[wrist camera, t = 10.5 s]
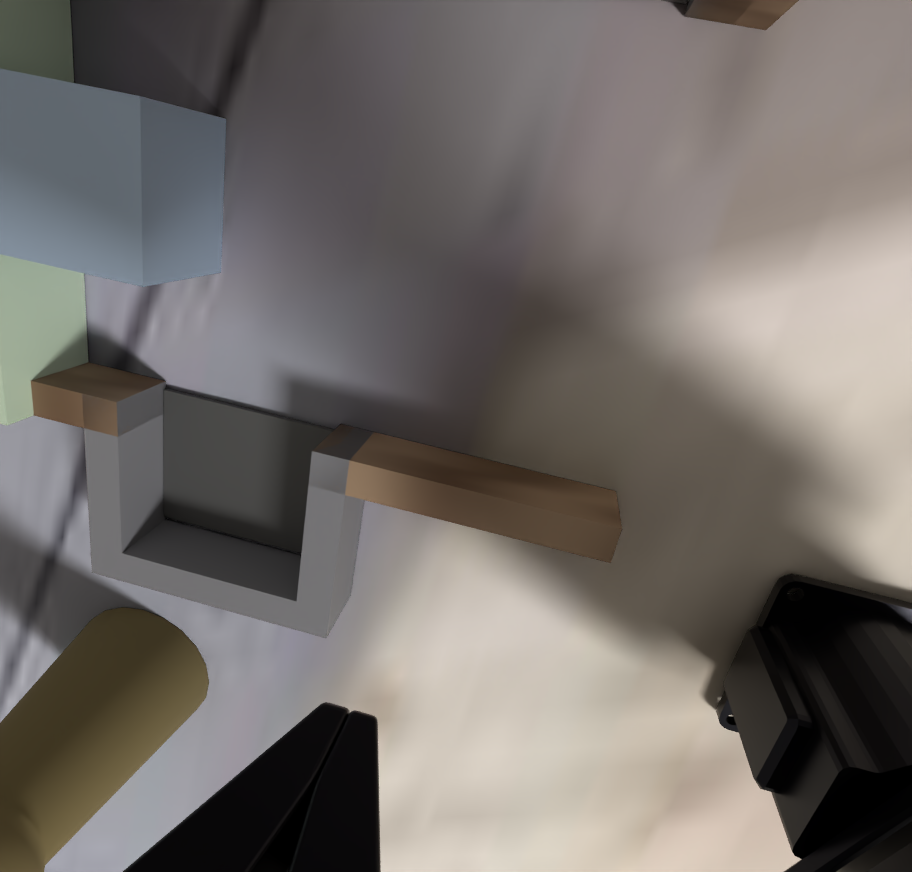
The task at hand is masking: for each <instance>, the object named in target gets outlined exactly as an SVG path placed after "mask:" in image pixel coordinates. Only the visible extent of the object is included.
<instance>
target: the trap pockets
mask: <svg viewBox="0 0 912 872" xmlns="http://www.w3.org/2000/svg"><path fill="white" fill-rule="evenodd" d="M663 1H669V2H676V3H682V4H686V3H687V0H663ZM693 1H694V0H693ZM693 1H692V0H689V2H688V5H687V9H686V12H685V16H687V14H686V13H687V10H689V11H691V10H692V9H694V8H698V7H699V8H700V6H701V5H700V6H698V5H697V4H696V3H694V2H693ZM695 1H696V0H695ZM699 1H701V0H699ZM703 1H704V0H703ZM711 1H712V0H711ZM711 1H710V2H711ZM696 2H698V1H696ZM717 2H718V1H717ZM691 3H694V4H695V5H696V6H697V7H693V6H694V5H693V4H691ZM699 3H700V2H699ZM699 3H698V4H699ZM705 3H706V1H705V2H704V4H705ZM707 3H709V2H708V1H707ZM707 3H706V4H707ZM714 3H715V2H714ZM690 4H691V5H692V8H691V7H690V6H691V5H690ZM700 4H701V3H700ZM702 4H703V3H702ZM709 5H712V3H709ZM714 5H716V4H714ZM722 5H723V4H722ZM688 6H689V7H688ZM706 6H708V5H706ZM704 7H705V6H704ZM711 7H712V6H711ZM689 8H690V9H689ZM702 8H703V7H702ZM723 9H724V8H723ZM694 10H695V9H694ZM696 10H697V11H698V9H696ZM699 10H700V9H699ZM704 10H705V11H706V9H704ZM700 11H701V10H700ZM702 11H703V10H702ZM693 12H694V13H695V11H693ZM698 12H699V11H698ZM708 13H709V12H708ZM708 13H707V14H708ZM688 14H689V13H688ZM691 14H693V13H692V12H691ZM691 14H690V15H691ZM698 14H699V13H698ZM698 14H697V13H696V15H695V14H693V16H694V15H695V16H694V17H696V16H697V15H698ZM709 14H710V13H709ZM690 15H688V17H690ZM699 15H700V14H699ZM693 16H691V18H692V17H693ZM712 17H713V16H712ZM698 19H699V18H698ZM700 19H701V16H700ZM151 389H152V390H151ZM151 389H150V388H149V389H146V390H144V391H142V392H141V393H140V392H139V393H137V394H135V395H132V396H130V397H128V398H125V399H123V400H121V401H118V402H117V403H118V404H116V407H117V412H116V413H117V415H115V416H117V420H116V419H114V420H116V421H117V422H116V423H117V426H116V427H117V428H118V435H117V436H118V437H116V436H113V435H109V434H105V433H101V432H97V431H98V430H97V431H93V430H94V429H92V430H90V429H85V428H84V439H85V457H86V474H87V492H88V510H89V527H90V545H91V563H92V573H95V574H99V575H102V576H106V577H109V578H113V579H116V580H120V581H123V582H127V583H131V584H134V585H138V586H141V587H145V588H148V589H152V590H156V591H159V592H163V593H166V594H170V595H173V596H177V597H181V598H184V599H188V600H191V601H195V602H198V603H202V604H206V605H209V606H213V607H216V608H220V609H223V610H227V611H231V612H234V613H238V614H241V615H245V616H248V617H252V618H255V619H259V620H263V621H266V622H270V623H273V624H277V625H280V626H284V627H288V628H291V629H295V630H298V631H302V632H305V633H309V634H313V635H316V636H320V637H323V638H327V636H328V635H329V633H330V631H331V629H332V628H333V626H334V624H335V622H336V620H337V619H338V617H339V615H340V613H341V612H342V610H343V608H344V606H345V605H346V603H347V601H348V599H349V597H350V596H351V589H352V582H353V575H354V569H355V562H356V555H357V548H358V541H359V534H360V527H361V520H362V513H363V506H364V500H363V499H359V498H355V497H351V496H347V495H345V491H346V488H345V487H346V484H347V481H346V478H347V476H348V471H347V470H348V466H349V463H348V462H349V461H350V459H351V458H352V457H353V456H354V455H355V454H356V452H357V451H358V450H359V449H360V448H361V447H362V446H363V444H364V443H365V442H366V441H367V440H368V439H369V438H370V435H372V434H373V433H374V432H371V431H370V432H369V431H367V430H363V429H359V428H354V429H356V430H353V429H351V434H350V431H349V430H348V429H346V431H347V432H346V431H344V432H345V433H343V434H347V433H348V436H346V437H347V438H346V437H345V436H344V435H343V434H341V436H340V437H339V436H338V437H339V439H341V437H342V439H343V440H344V441H343V442H340V441H339V442H340V444H337V445H336V446H334V445H335V444H336V443H337V442H336V443H335V442H334V441H335V440H334V441H333V440H332V441H333V442H334V443H335V444H334V443H333V442H332V441H331V442H332V443H333V445H332V444H331V443H330V444H331V445H332V446H334V447H331V446H329V444H328V445H326V446H329V447H327V449H329V450H332V449H333V450H332V451H330V452H329V450H327V449H325V448H324V447H323V449H325V450H324V451H323V449H320V448H319V449H320V450H319V449H318V450H319V451H320V452H321V453H320V452H318V450H317V451H316V450H315V451H316V452H315V451H313V450H314V449H315V448H316V447H317V446H318V445H319V444H320V443H321V442H325V441H326V440H324V439H325V438H326V437H328V436H329V435H330V434H331V433H332V432H333V431H334V430H335V429H331V428H327V427H323V426H319V425H315V424H311V423H307V422H303V421H299V420H295V419H291V418H286V417H282V416H278V415H274V414H270V413H266V412H262V411H258V410H254V409H250V408H246V407H242V406H238V405H234V404H230V403H225V402H221V401H217V400H213V399H209V398H205V397H201V396H197V395H193V394H189V393H185V392H181V391H177V390H173V389H168V388H166V381H165V382H163V383H161V384H158V385H156V386H154V387H151ZM162 389H163V391H162ZM147 390H148V391H147ZM146 391H147V392H148V393H147V392H146ZM163 392H164V393H163ZM143 393H144V394H143ZM148 394H149V395H148ZM140 395H141V396H140ZM84 396H85V395H84ZM88 396H89V395H88ZM89 397H90V396H89ZM139 397H140V398H139ZM150 397H151V398H150ZM96 398H98V397H96ZM86 399H87V397H86ZM133 399H134V400H133ZM88 400H90V398H89V399H88ZM94 400H95V399H94ZM94 400H90V401H92V402H93V401H94ZM100 400H101V399H100ZM100 400H98V401H100ZM144 400H145V401H144ZM149 400H150V401H149ZM83 401H85V400H83ZM103 401H104V400H103ZM141 401H142V402H141ZM148 401H149V402H148ZM92 402H91V403H92ZM105 402H106V401H105ZM109 402H110V401H109ZM161 402H162V403H161ZM82 403H83V402H82ZM86 403H87V400H86ZM97 403H102V401H101V402H97ZM113 403H114V401H113ZM115 403H116V402H115ZM122 403H123V404H122ZM158 403H159V404H158ZM87 404H88V403H87ZM102 405H103V404H102ZM106 405H107V404H105V406H106ZM133 405H134V406H133ZM88 406H89V407H90V405H87V407H88ZM91 406H92V405H91ZM96 406H98V405H96ZM105 406H104V407H105ZM92 407H93V406H92ZM104 407H103V408H104ZM107 407H109V406H107ZM113 407H114V406H113ZM120 407H121V408H120ZM142 407H143V408H142ZM98 408H101V407H100V406H98ZM103 408H102V409H103ZM145 408H146V409H145ZM87 409H88V408H87ZM102 409H101V410H102ZM115 409H116V408H115ZM131 409H132V410H131ZM111 410H112V409H111ZM126 410H127V411H126ZM147 410H148V411H147ZM152 410H153V411H152ZM87 411H88V410H87ZM87 411H86V412H87ZM96 411H97V412H98V411H99V410H96ZM104 411H105V410H104ZM106 411H108V410H106ZM146 411H147V412H146ZM149 411H150V412H149ZM83 412H84V411H83ZM89 412H90V411H89ZM114 412H115V411H114ZM127 412H128V413H127ZM87 413H88V412H87ZM87 413H86V414H87ZM94 413H95V412H94ZM94 413H93V414H94ZM102 413H103V412H102ZM118 413H119V414H118ZM145 413H146V414H145ZM162 413H163V414H162ZM98 414H99V415H100V413H98ZM144 414H145V415H144ZM83 415H84V414H83ZM89 415H90V413H89ZM89 415H88V416H89ZM112 415H114V413H113V414H112ZM129 415H130V416H129ZM85 416H87V415H85ZM88 416H87V417H88ZM107 416H108V415H107ZM127 416H128V417H127ZM145 416H146V417H145ZM149 416H150V417H149ZM155 416H156V417H155ZM90 417H91V416H90ZM95 417H96V416H95ZM104 417H105V415H104ZM84 418H85V417H84ZM97 418H98V417H96V419H97ZM127 418H128V419H127ZM129 418H130V419H129ZM112 419H113V418H112ZM147 419H148V420H147ZM85 420H86V419H85ZM90 420H92V419H90ZM99 420H100V419H99ZM124 420H125V421H124ZM136 420H137V421H138V422H137V421H136ZM87 421H89V419H88V420H87ZM111 421H112V420H111ZM111 421H110V422H111ZM131 421H132V423H131ZM113 422H114V421H113ZM121 422H122V423H121ZM86 423H87V422H86ZM136 423H137V424H136ZM138 423H139V424H138ZM104 424H106V425H107V423H105V422H104ZM104 424H103V425H104ZM108 424H109V423H108ZM129 424H130V425H129ZM84 425H85V424H84ZM91 425H92V424H91ZM93 425H94V423H93ZM101 425H102V424H101ZM119 425H120V426H119ZM86 426H88V425H86ZM341 426H342V424H341ZM345 426H346V425H344V427H345ZM96 427H97V425H96ZM96 427H95V428H96ZM100 427H103V426H100ZM342 427H343V426H342ZM344 427H343V428H344ZM346 427H347V426H346ZM92 428H93V427H92ZM114 428H115V427H114ZM121 428H122V429H121ZM129 428H130V429H129ZM347 428H349V429H350V428H352V427H347ZM336 429H337V428H336ZM104 430H105V429H103V431H104ZM106 430H107V429H106ZM111 430H112V429H111ZM341 430H342V429H341ZM343 430H344V429H343ZM358 430H359V431H360V432H359V431H358ZM362 430H363V431H362ZM123 431H127V432H123ZM336 431H338V429H337V430H336ZM339 431H340V430H339ZM348 431H349V432H348ZM355 431H357V432H355ZM361 431H362V432H361ZM364 431H365V432H366V433H365V432H364ZM110 432H111V431H110ZM367 432H368V434H367ZM111 433H114V432H111ZM116 433H117V432H115V434H116ZM122 433H123V434H122ZM335 433H336V432H335ZM335 433H333V434H335ZM338 433H339V432H338ZM356 433H357V434H356ZM359 433H360V434H359ZM363 433H364V434H365V435H364V434H363ZM121 434H122V435H121ZM349 434H350V435H349ZM354 434H356V435H354ZM336 435H337V434H336ZM339 435H340V434H339ZM342 435H343V436H344V438H343V436H342ZM351 435H352V436H351ZM330 436H331V435H330ZM330 436H329V437H330ZM349 436H351V438H350V437H349ZM353 436H354V438H353ZM356 436H358V438H359V439H358V438H357V437H356ZM364 436H365V437H364ZM329 437H328V438H329ZM332 437H334V436H332ZM332 437H331V439H332ZM363 437H364V438H363ZM328 438H327V439H328ZM348 438H349V439H350V440H351V439H353V440H351V441H352V442H351V441H350V440H349V439H348ZM331 439H330V440H331ZM333 439H335V438H333ZM342 439H341V440H342ZM355 439H356V440H355ZM357 439H358V440H357ZM323 440H324V441H323ZM348 440H349V441H348ZM365 440H366V441H365ZM336 441H337V439H336ZM354 441H355V442H354ZM361 441H364V442H361ZM326 442H327V441H326ZM326 442H325V443H326ZM328 442H329V439H328ZM328 442H327V443H328ZM345 442H346V443H345ZM348 442H349V443H348ZM350 442H351V443H350ZM356 442H357V443H356ZM327 443H326V444H327ZM341 443H343V444H341ZM344 443H345V444H344ZM359 443H360V444H359ZM322 444H323V443H321V444H320V446H321V445H322ZM356 444H357V445H356ZM344 445H345V446H344ZM353 445H354V446H353ZM359 445H360V446H361V447H360V446H359ZM337 446H338V447H337ZM348 446H349V447H348ZM330 447H331V449H330ZM339 447H340V448H339ZM359 447H360V448H359ZM334 448H335V449H334ZM336 448H337V449H336ZM357 448H358V449H357ZM338 449H339V450H338ZM341 449H342V450H341ZM347 449H348V450H349V449H350V450H349V451H348V450H347ZM351 449H352V450H351ZM353 449H354V450H353ZM321 450H322V451H321ZM326 450H327V451H328V452H329V453H328V454H327V451H326ZM340 450H341V451H340ZM345 451H346V452H345ZM355 451H356V452H355ZM324 452H325V454H324ZM342 452H344V453H342ZM351 452H352V453H351ZM330 453H333V454H334V455H333V454H330ZM336 453H337V454H336ZM341 453H342V454H341ZM348 453H350V454H348ZM315 454H316V455H315ZM321 454H322V455H321ZM338 454H339V455H338ZM340 454H341V455H340ZM345 454H347V455H345ZM353 454H354V455H353ZM330 455H331V456H330ZM326 456H327V457H326ZM337 456H338V457H337ZM349 456H350V457H349ZM325 457H326V458H325ZM345 457H346V458H345ZM314 458H315V459H314ZM323 459H325V460H323ZM331 459H333V460H331ZM339 459H340V460H339ZM335 460H336V461H335ZM342 460H343V461H342ZM346 460H347V461H346ZM322 461H323V462H322ZM334 461H335V462H334ZM333 462H334V463H333ZM314 463H315V464H314ZM340 463H341V464H340ZM342 463H343V464H342ZM346 463H347V464H348V465H347V464H346ZM327 464H328V465H327ZM334 464H335V465H334ZM337 464H338V465H337ZM311 465H313V466H311ZM336 465H337V466H336ZM319 466H320V467H319ZM332 466H333V467H332ZM319 468H320V469H319ZM333 468H334V470H333ZM339 468H340V470H339ZM341 468H342V470H341ZM326 470H327V471H326ZM328 470H330V471H329V472H328ZM332 470H333V471H332ZM335 470H336V471H335ZM345 470H346V471H345ZM320 471H321V472H320ZM334 471H335V472H334ZM343 471H344V472H343ZM337 472H338V473H337ZM327 473H328V474H327ZM329 473H331V474H329ZM335 473H336V474H335ZM341 473H343V474H341ZM345 473H346V474H345ZM318 474H319V475H318ZM333 474H334V475H333ZM339 474H341V475H339ZM326 475H327V476H326ZM329 475H330V476H329ZM345 475H346V477H345ZM332 477H333V478H332ZM335 477H336V479H335ZM343 477H344V478H343ZM331 478H332V479H331ZM338 478H339V479H338ZM310 479H311V480H310ZM313 479H315V480H316V479H317V480H316V481H315V480H313ZM333 479H334V480H333ZM323 480H324V481H323ZM327 480H328V481H329V482H326V481H327ZM337 480H339V481H337ZM344 480H345V481H344ZM320 481H321V482H320ZM330 481H331V482H330ZM332 481H333V482H332ZM342 481H343V483H342ZM318 482H319V483H320V484H319V483H318ZM322 482H323V483H322ZM334 482H335V483H334ZM337 482H339V483H337ZM344 482H345V483H346V484H345V485H343V484H344ZM309 483H313V484H309ZM340 483H342V484H340ZM323 484H324V485H323ZM321 485H322V487H323V486H324V487H323V489H322V487H321ZM338 485H339V486H338ZM340 485H341V486H340ZM327 486H328V487H327ZM330 486H331V487H330ZM333 486H334V487H333ZM335 486H338V487H340V489H339V488H338V487H335ZM343 486H344V490H343ZM329 487H330V488H329ZM333 488H335V489H336V488H337V489H336V490H337V491H336V490H335V489H334V490H333V491H332V489H333ZM324 489H325V490H324ZM326 489H329V490H330V491H329V490H326ZM335 491H336V492H335ZM341 491H342V492H341ZM341 493H342V494H341ZM343 493H344V494H343ZM166 517H167V518H171V519H175V520H179V521H182V522H186V523H190V524H194V525H197V526H201V527H205V528H209V529H212V530H216V531H220V532H223V533H227V534H231V535H235V536H238V537H242V538H246V539H250V540H253V541H257V542H261V543H265V544H268V545H272V546H276V547H280V548H283V549H287V550H291V551H295V552H298V553H301V555H297V554H294V553H290V552H286V551H282V550H279V549H275V548H271V547H267V546H264V545H260V544H256V543H252V542H249V541H245V540H241V539H238V538H234V537H230V536H226V535H223V534H219V533H215V532H211V531H208V530H204V529H200V528H196V527H193V526H189V525H185V524H182V523H178V522H174V521H170V520H167V519H166Z"/></svg>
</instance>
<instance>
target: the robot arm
mask: <svg viewBox="0 0 912 872" xmlns="http://www.w3.org/2000/svg"><path fill="white" fill-rule="evenodd" d="M792 588H799V590H798V591H797V592H796V593H793V594H788V593H787V592H788V591H789V590H790V589H792ZM723 685H724V688H725V691H724V694H723V696H722V698H721V700H720V702H719V704H718V706H717V710H716V712H717V715H718V719H719V722H720V724H721V725H722V726H723V727H724V728H726V729H728V730H731V731H735V732H739V734H740V737H741V740H742V744H743V747H744V750H745V753H746V756H747V759H748V762H749V765H750V768H751V771H752V774H753V777H754V779H755V781H756V783H757V784H758V786H759V787H760V789H763V790H767V791H771V792H772V795H773V798H774V801H775V803H776V806H777V809H778V812H779V815H780V818H781V821H782V824H783V826H784V829H785V832H786V835H787V838H788V841H789V844H790V847H791V849H792V852H793V853H794V855H795V856H797V857H799V858H801V860H800V861H799V862H797V863H796V864H794V865H793V866H791V867H790V868H789V869H787V870H786V871H784V872H912V603H908V602H904V601H900V600H896V599H893V598H889V597H885V596H881V595H877V594H873V593H869V592H865V591H861V590H857V589H853V588H849V587H845V586H841V585H837V584H833V583H829V582H825V581H821V580H817V579H813V578H809V577H805V576H801V575H795V574H789V575H785V576H783V577H781V578H780V579H779V580H778V581H777V582H776V584H775V586H774V588H773V590H772V592H771V594H770V596H769V598H768V600H767V603H766V605H765V607H764V609H763V611H762V613H761V615H760V617H759V620H758V622H757V624H756V626H753V627H752V628H750V629H749V630H748V631H747V633H746V635H745V637H744V640H743V642H742V644H741V646H740V648H739V650H738V652H737V655H736V657H735V659H734V661H733V663H732V665H731V667H730V669H729V672H728V674H727V676H726V678H725V680H724V683H723ZM731 714H733V717H732V716H729V715H731ZM123 872H381V870H380V819H379V768H378V722H377V718H376V717H375V716H373V715H370V714H366V713H363V712H359V711H352V712H351V713H350V712H349V710H348V709H347V708H345V707H342V706H339V705H335V704H332V703H327V702H326V703H323V704H321V705H320V706H318V707H317V708H316V709H315V710H314V711H312V712H311V713H310V714H309V715H308V716H306V717H305V718H304V719H303V720H302V721H301V722H299V723H298V724H297V725H296V726H295V727H293V728H292V729H291V730H290V731H289V732H287V733H286V734H285V735H284V736H283V737H282V738H280V739H279V740H278V741H277V742H276V743H274V744H273V745H272V746H271V747H270V748H269V749H267V750H266V751H265V752H264V753H263V754H261V755H260V756H259V757H258V758H257V759H256V760H254V761H253V762H252V763H251V764H250V765H248V766H247V767H246V768H245V769H244V770H242V771H241V772H240V773H239V774H238V775H237V776H235V777H234V778H233V779H232V780H231V781H229V782H228V783H227V784H226V785H225V786H224V787H222V788H221V789H220V790H219V791H218V792H216V793H215V794H214V795H213V796H212V797H211V798H209V799H208V800H207V801H206V802H205V803H203V804H202V805H201V806H200V807H199V808H198V809H196V810H195V811H194V812H193V813H192V814H190V815H189V816H188V817H187V818H186V819H184V820H183V821H182V822H181V823H180V824H179V825H177V826H176V827H175V828H174V829H173V830H171V831H170V832H169V833H168V834H167V835H166V836H164V837H163V838H162V839H161V840H160V841H158V842H157V843H156V844H155V845H154V846H153V847H151V848H150V849H149V850H148V851H147V852H145V853H144V854H143V855H142V856H141V857H139V858H138V859H137V860H136V861H135V862H134V863H132V864H131V865H130V866H129V867H128V868H126V869H125V870H124V871H123Z"/></svg>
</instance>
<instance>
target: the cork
mask: <svg viewBox="0 0 912 872" xmlns="http://www.w3.org/2000/svg"><path fill="white" fill-rule="evenodd" d="M208 685H209V679H208V674H207V668H206V664H205V662H204V660H203V658H202V656H201V655H200V653H199V651H198V649H197V647H196V646H195V645H194V644H193V643H192V642H191V640H190V639H189V638H188V637H187V636H186V635H185V634H184V633H183V632H182V631H181V630H180V629H178V628H177V627H176V626H174V625H173V624H171V623H170V622H168V621H167V620H165V619H164V618H162V617H160V616H157V615H155V614H152V613H150V612H147V611H145V610H141V609H133V608H125V607H121V608H116V609H111V610H106V611H104V612H102V613H101V614H99V615H98V616H96V617H95V618H93V619H92V620H91V621H90V622H89V623H88V624H87V625H86V626H85V628H84V629H83V630H82V631H81V632H80V633H79V634H78V636H77V637H76V638H75V639H74V640H73V641H72V642H71V643H70V645H69V646H68V647H67V648H66V649H65V650H64V651H63V652H62V654H61V655H60V656H59V657H58V658H57V659H56V660H55V662H54V663H53V664H52V665H51V666H50V667H49V668H48V669H47V671H46V672H45V673H44V674H43V675H42V676H41V677H40V679H39V680H38V681H37V682H36V683H35V684H34V685H33V686H32V688H31V689H30V690H29V691H28V692H27V693H26V694H25V696H24V697H23V698H22V699H21V700H20V701H19V702H18V703H17V705H16V706H15V707H14V708H13V709H12V710H11V711H10V712H9V714H8V715H7V716H6V717H5V718H4V719H3V720H2V722H1V723H0V872H44V868H45V865H46V864H47V863H48V862H49V861H50V859H51V858H52V857H53V856H54V855H55V854H56V853H57V852H58V851H59V850H60V849H61V848H62V847H63V846H64V845H65V844H66V843H67V842H68V841H69V840H70V839H71V838H72V837H73V836H74V835H75V834H76V833H77V832H78V831H79V830H80V829H81V828H82V827H83V826H84V825H85V824H86V823H87V822H88V821H89V819H90V818H91V817H92V816H93V815H94V814H95V813H96V812H97V811H98V810H99V809H100V808H101V807H102V806H103V805H104V804H105V803H106V802H107V801H108V800H109V799H110V798H111V797H112V796H113V795H114V794H115V793H116V792H117V791H118V790H119V789H120V788H121V787H122V786H123V785H124V784H125V783H126V782H127V780H128V779H129V778H130V777H131V776H132V775H133V774H134V773H135V772H136V771H137V770H138V769H139V768H140V767H141V766H142V765H143V764H144V763H145V762H146V761H147V760H148V759H149V758H150V757H151V756H152V755H153V754H154V753H155V752H156V751H157V750H158V749H159V748H160V747H161V746H162V745H163V744H164V743H165V742H166V740H167V739H168V738H169V737H170V736H171V735H172V734H173V733H174V732H175V731H176V730H177V729H178V728H179V727H180V726H181V725H182V724H183V723H184V722H185V721H186V720H187V719H188V718H189V717H190V716H191V715H192V714H193V713H194V712H195V711H196V710H197V709H198V707H199V706H200V705H201V703H202V702H203V701H204V699H205V698H206V695H207V690H208Z"/></svg>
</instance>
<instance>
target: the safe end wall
mask: <svg viewBox="0 0 912 872" xmlns="http://www.w3.org/2000/svg"><path fill="white" fill-rule="evenodd" d="M0 69H5V70H11V71H16V72H21V73H26V74H31V75H36V76H41V77H46V78H51V79H56V80H61V81H66V82H71V83H74V69H73V50H72V30H71V11H70V0H0ZM85 363H88V343H87V324H86V304H85V285H84V273H80V272H75V271H71V270H67V269H62V268H58V267H54V266H49V265H45V264H40V263H36V262H32V261H27V260H23V259H19V258H14V257H10V256H5V255H1V254H0V424H3V425H10V424H13V423H15V422H18V421H20V420H23V419H26V418H28V417H31V416H33V415H34V412H33V401H32V390H31V380H34V379H38V378H41V377H44V376H47V375H50V374H53V373H56V372H60V371H63V370H66V369H69V368H72V367H75V366H78V365H82V364H85Z"/></svg>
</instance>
